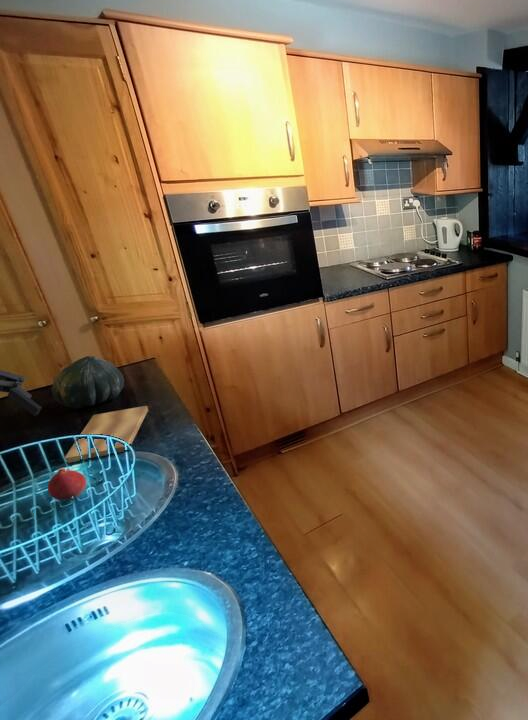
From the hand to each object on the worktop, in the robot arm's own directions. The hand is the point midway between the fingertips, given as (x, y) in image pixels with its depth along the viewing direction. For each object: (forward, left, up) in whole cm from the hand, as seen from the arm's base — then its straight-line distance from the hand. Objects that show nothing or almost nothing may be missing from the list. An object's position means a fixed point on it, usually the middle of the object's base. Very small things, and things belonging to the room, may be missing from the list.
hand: (2, 430), depth 92 cm
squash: (-1, +41, -17) cm, 45 cm away
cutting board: (+8, +19, -17) cm, 27 cm away
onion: (+8, -6, -17) cm, 20 cm away
